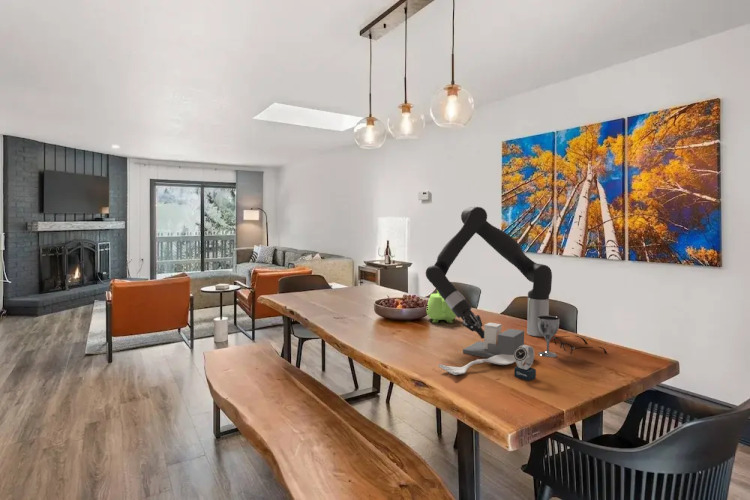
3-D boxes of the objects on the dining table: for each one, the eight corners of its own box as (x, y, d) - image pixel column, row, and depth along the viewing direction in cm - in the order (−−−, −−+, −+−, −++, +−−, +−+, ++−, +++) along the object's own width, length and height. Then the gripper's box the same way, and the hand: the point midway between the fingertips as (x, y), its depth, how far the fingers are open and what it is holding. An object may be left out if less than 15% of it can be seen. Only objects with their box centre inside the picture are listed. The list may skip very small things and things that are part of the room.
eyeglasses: (551, 344, 185) (551, 335, 185) (585, 343, 186) (585, 334, 186) (572, 356, 169) (572, 346, 168) (609, 355, 170) (610, 345, 170)
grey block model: (462, 352, 172) (463, 329, 172) (478, 344, 184) (479, 322, 183) (511, 363, 160) (511, 338, 159) (525, 353, 172) (525, 330, 171)
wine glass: (548, 358, 164) (549, 320, 163) (532, 353, 171) (533, 316, 170) (562, 355, 168) (563, 318, 167) (546, 350, 175) (547, 314, 174)
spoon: (437, 373, 151) (437, 363, 151) (504, 357, 165) (504, 348, 165) (453, 381, 143) (453, 371, 143) (522, 364, 157) (522, 355, 157)
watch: (510, 377, 145) (511, 346, 144) (524, 372, 150) (524, 341, 149) (525, 382, 141) (526, 350, 140) (538, 377, 145) (539, 345, 145)
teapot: (470, 325, 218) (471, 294, 217) (428, 325, 218) (429, 294, 217) (461, 314, 243) (461, 287, 242) (424, 314, 243) (424, 287, 242)
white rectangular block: (483, 348, 172) (484, 324, 171) (489, 345, 176) (489, 322, 175) (496, 351, 168) (496, 326, 168) (501, 348, 173) (501, 324, 172)
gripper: (456, 300, 174) (484, 335, 167) (470, 296, 184) (497, 328, 177) (444, 312, 177) (471, 346, 170) (459, 306, 188) (485, 338, 181)
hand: (484, 337), depth 174 cm, fingers closed
